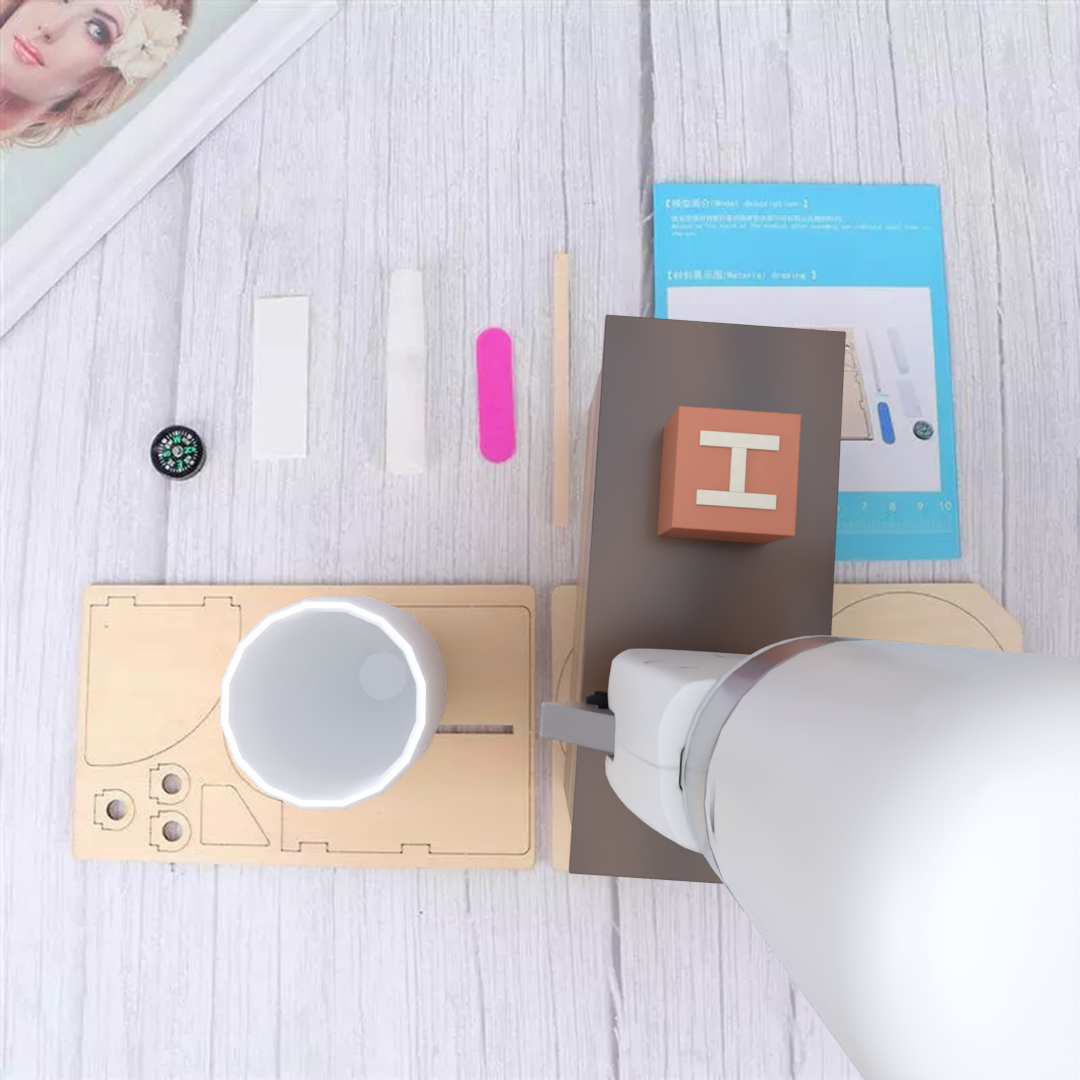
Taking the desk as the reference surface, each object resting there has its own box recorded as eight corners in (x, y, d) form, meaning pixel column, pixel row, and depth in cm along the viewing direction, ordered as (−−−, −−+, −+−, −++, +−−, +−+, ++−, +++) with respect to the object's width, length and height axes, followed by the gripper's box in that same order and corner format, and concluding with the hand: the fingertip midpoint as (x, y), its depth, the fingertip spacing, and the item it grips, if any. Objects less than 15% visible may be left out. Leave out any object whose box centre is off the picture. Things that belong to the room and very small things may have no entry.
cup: (368, 780, 65) (288, 866, 43) (284, 650, 65) (164, 670, 44) (498, 694, 65) (483, 736, 44) (414, 565, 66) (359, 544, 44)
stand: (731, 424, 67) (831, 334, 45) (710, 792, 65) (804, 886, 43) (587, 414, 67) (615, 318, 45) (562, 782, 65) (579, 870, 43)
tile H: (773, 433, 44) (803, 412, 39) (768, 544, 43) (797, 536, 39) (663, 426, 44) (680, 404, 39) (656, 536, 43) (672, 527, 39)
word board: (842, 335, 45) (846, 331, 44) (815, 886, 43) (819, 890, 42) (604, 317, 45) (605, 314, 44) (568, 870, 43) (568, 873, 42)
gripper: (1184, 660, 24) (903, 638, 42) (509, 613, 24) (516, 611, 42) (1178, 966, 24) (896, 811, 42) (487, 920, 24) (504, 785, 42)
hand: (706, 711), depth 42 cm, fingers closed on tile I, 5 cm apart
